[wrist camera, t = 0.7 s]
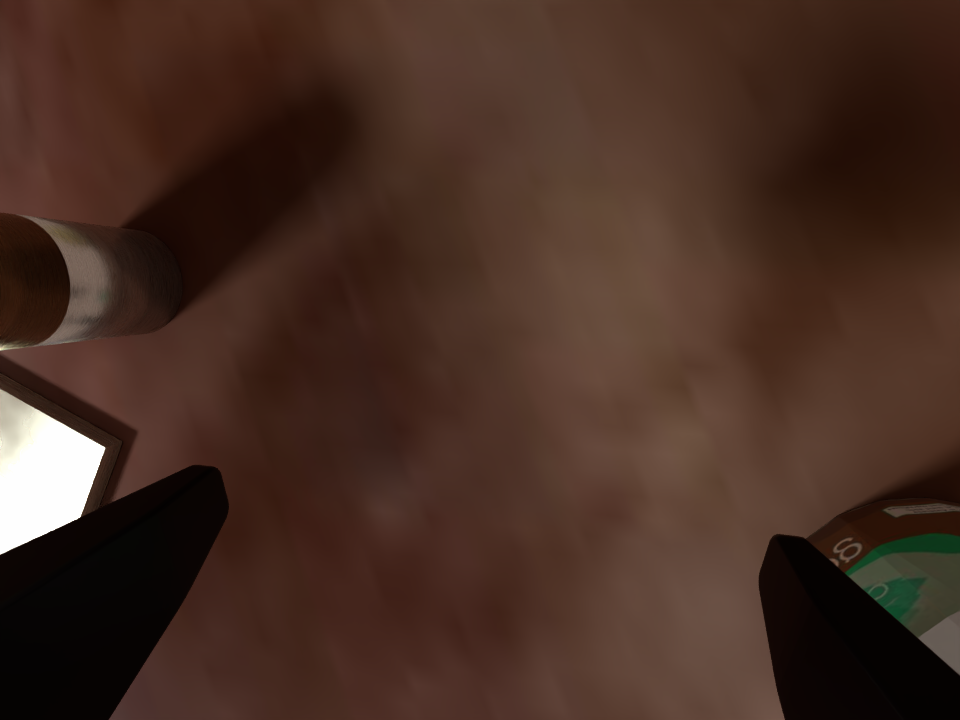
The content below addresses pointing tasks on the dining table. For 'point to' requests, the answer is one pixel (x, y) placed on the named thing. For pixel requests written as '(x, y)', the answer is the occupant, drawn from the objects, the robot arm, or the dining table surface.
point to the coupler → (81, 282)
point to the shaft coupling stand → (47, 465)
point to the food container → (904, 564)
